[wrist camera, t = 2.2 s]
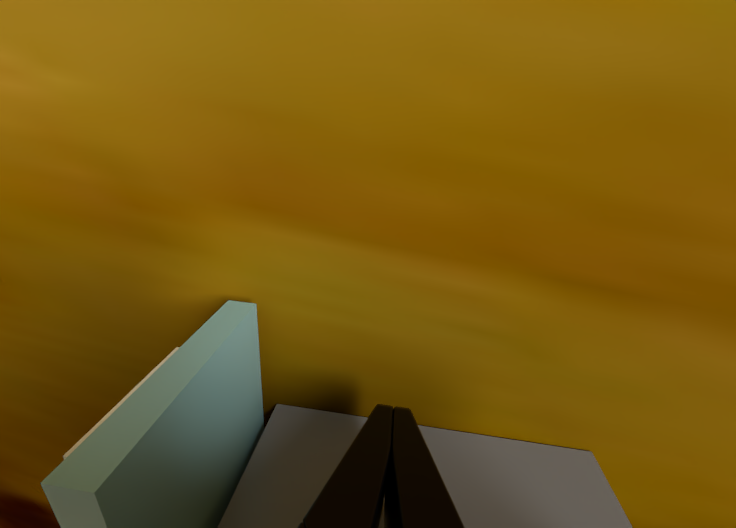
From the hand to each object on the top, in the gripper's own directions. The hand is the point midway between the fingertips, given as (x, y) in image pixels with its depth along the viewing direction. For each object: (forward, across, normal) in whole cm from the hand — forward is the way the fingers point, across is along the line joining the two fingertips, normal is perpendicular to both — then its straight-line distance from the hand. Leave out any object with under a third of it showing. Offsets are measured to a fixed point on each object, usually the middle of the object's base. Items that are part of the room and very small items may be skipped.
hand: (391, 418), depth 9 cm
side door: (+1, +5, +6) cm, 8 cm away
